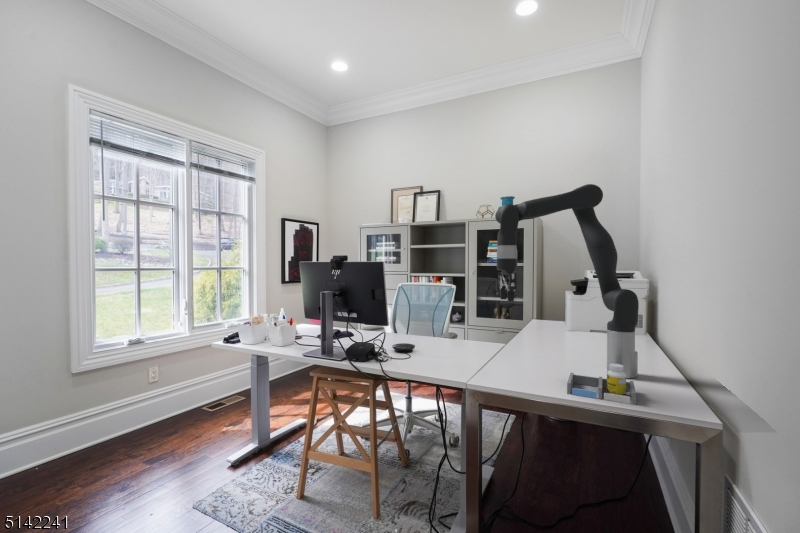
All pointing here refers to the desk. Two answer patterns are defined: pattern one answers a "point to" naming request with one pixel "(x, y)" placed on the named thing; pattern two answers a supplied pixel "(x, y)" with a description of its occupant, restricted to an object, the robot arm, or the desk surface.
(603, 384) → the divided storage rack
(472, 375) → the desk surface
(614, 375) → the supplement bottle
